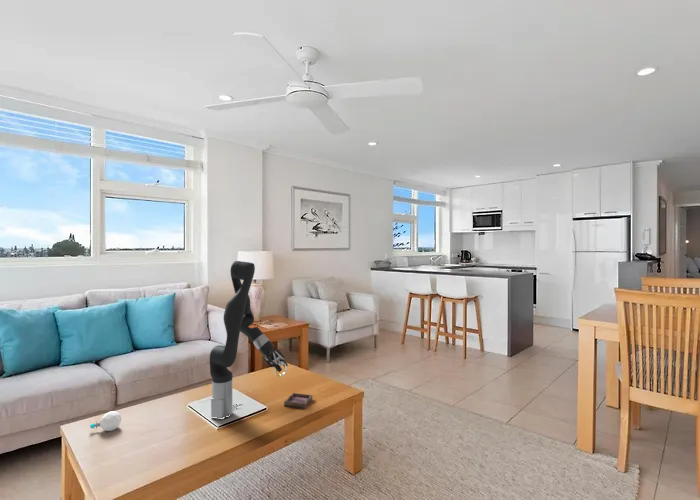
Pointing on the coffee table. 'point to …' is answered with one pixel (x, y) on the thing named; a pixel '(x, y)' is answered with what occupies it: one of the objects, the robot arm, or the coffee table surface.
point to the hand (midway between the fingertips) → (283, 368)
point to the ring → (284, 367)
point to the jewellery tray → (298, 400)
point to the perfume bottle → (108, 421)
